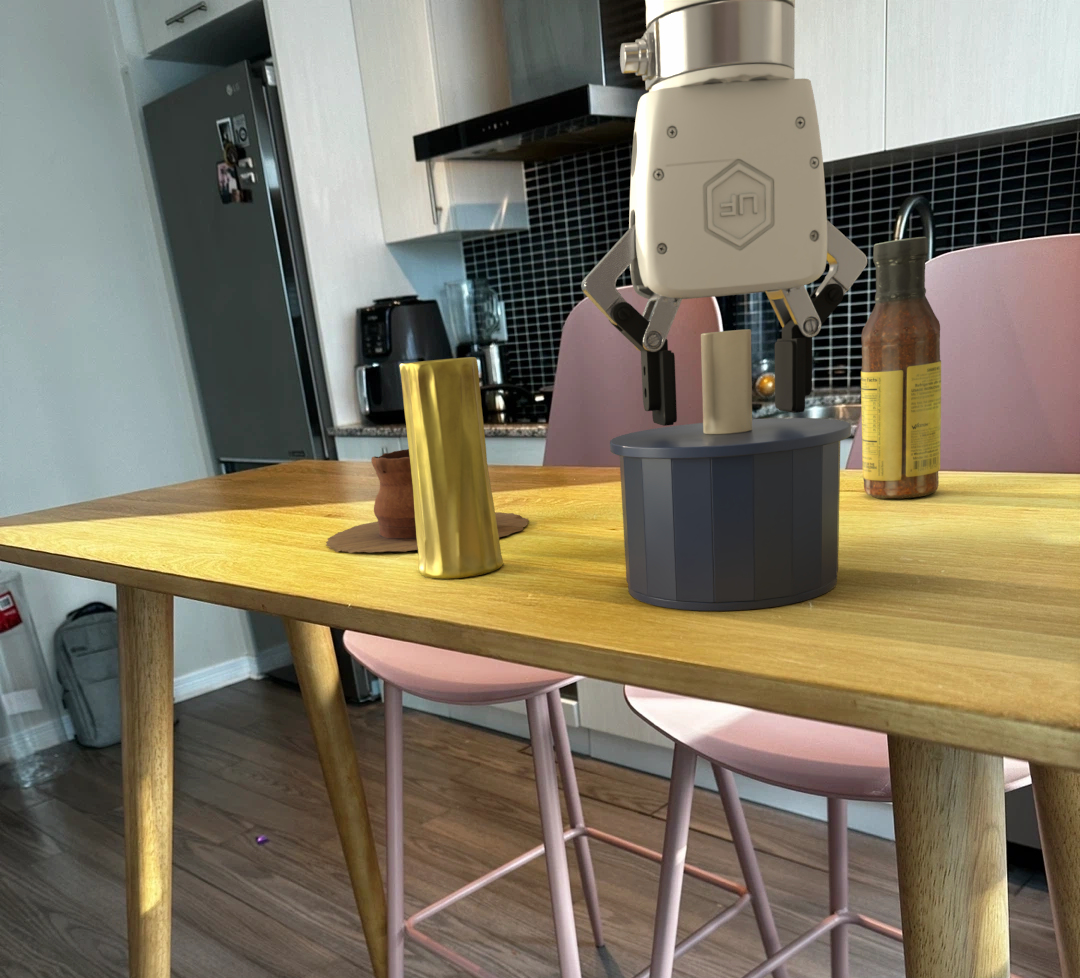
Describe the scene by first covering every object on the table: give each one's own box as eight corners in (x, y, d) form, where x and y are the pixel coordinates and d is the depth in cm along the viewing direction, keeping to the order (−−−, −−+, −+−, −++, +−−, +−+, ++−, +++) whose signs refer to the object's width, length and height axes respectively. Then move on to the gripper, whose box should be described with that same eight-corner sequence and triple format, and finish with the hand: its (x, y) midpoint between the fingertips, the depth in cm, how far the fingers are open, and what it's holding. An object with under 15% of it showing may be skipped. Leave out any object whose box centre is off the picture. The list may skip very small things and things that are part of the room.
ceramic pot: (505, 549, 80) (496, 456, 77) (292, 559, 83) (277, 471, 81) (545, 509, 96) (538, 431, 94) (366, 519, 100) (355, 444, 97)
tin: (759, 552, 71) (758, 425, 68) (883, 586, 60) (888, 435, 57) (594, 582, 67) (585, 448, 64) (693, 624, 56) (688, 463, 53)
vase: (484, 579, 70) (461, 359, 65) (404, 579, 72) (375, 366, 67) (515, 559, 76) (496, 354, 71) (439, 560, 78) (415, 361, 73)
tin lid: (761, 433, 69) (760, 326, 66) (903, 445, 57) (908, 315, 54) (573, 458, 64) (565, 345, 62) (683, 478, 52) (678, 338, 50)
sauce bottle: (936, 487, 89) (948, 236, 82) (942, 499, 84) (955, 231, 77) (857, 490, 91) (863, 245, 84) (858, 502, 86) (864, 241, 79)
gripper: (566, 54, 49) (591, 437, 55) (913, 31, 51) (899, 406, 57) (546, 91, 56) (570, 427, 62) (851, 69, 58) (845, 400, 64)
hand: (727, 414), depth 60 cm, fingers open, 6 cm apart
